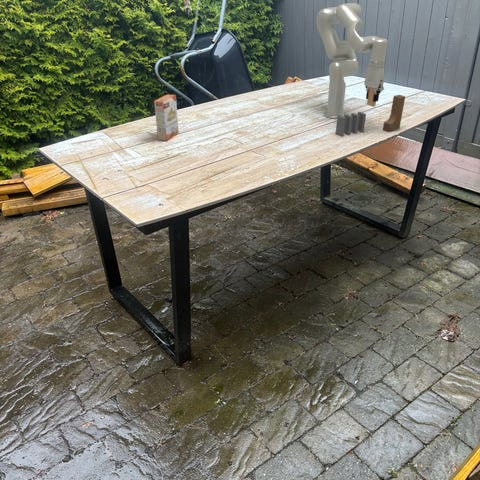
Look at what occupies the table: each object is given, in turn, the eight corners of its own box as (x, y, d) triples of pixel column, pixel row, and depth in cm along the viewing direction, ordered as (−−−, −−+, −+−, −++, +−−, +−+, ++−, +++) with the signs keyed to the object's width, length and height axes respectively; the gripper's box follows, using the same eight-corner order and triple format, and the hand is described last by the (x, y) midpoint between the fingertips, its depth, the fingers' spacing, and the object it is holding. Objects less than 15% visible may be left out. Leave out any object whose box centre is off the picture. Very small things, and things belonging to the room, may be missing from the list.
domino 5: (366, 104, 247) (369, 85, 242) (369, 104, 247) (371, 85, 242) (372, 106, 243) (375, 87, 238) (375, 106, 244) (378, 87, 238)
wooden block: (388, 132, 249) (394, 98, 239) (382, 129, 252) (387, 97, 242) (399, 128, 253) (405, 96, 243) (393, 126, 256) (399, 94, 246)
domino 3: (348, 131, 251) (351, 113, 245) (351, 130, 251) (353, 112, 246) (354, 133, 247) (356, 115, 241) (357, 133, 247) (359, 115, 242)
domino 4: (355, 129, 252) (357, 111, 247) (357, 129, 253) (360, 111, 247) (361, 132, 248) (363, 114, 243) (363, 132, 249) (366, 114, 244)
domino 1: (335, 133, 247) (337, 115, 242) (337, 133, 248) (339, 115, 243) (341, 136, 244) (343, 118, 238) (343, 135, 244) (345, 117, 239)
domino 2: (342, 132, 249) (344, 114, 244) (344, 131, 250) (346, 113, 244) (347, 135, 245) (350, 116, 240) (350, 134, 246) (352, 116, 240)
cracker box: (167, 141, 240) (163, 101, 229) (157, 140, 242) (153, 100, 230) (179, 133, 251) (176, 94, 240) (169, 131, 253) (166, 93, 241)
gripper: (360, 62, 239) (356, 97, 249) (382, 68, 226) (376, 105, 236) (371, 61, 242) (367, 95, 252) (394, 66, 229) (388, 103, 239)
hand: (372, 99), depth 244 cm, fingers closed on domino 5, 4 cm apart
